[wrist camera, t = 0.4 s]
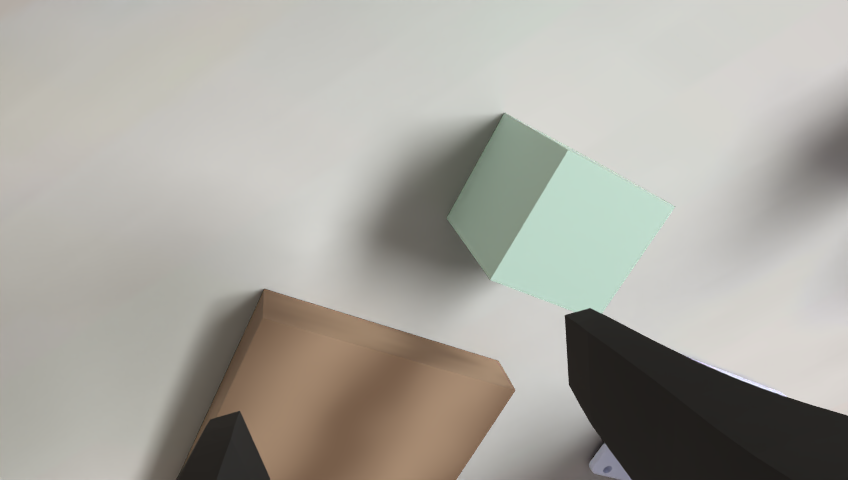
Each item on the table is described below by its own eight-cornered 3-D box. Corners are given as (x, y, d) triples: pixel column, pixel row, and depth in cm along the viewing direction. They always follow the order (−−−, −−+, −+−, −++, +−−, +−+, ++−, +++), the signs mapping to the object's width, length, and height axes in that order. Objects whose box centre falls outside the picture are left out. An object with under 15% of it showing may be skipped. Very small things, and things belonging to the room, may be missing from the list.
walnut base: (498, 361, 24) (515, 390, 23) (392, 527, 28) (399, 564, 26) (264, 288, 20) (262, 317, 18) (169, 495, 23) (160, 537, 22)
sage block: (594, 160, 21) (675, 206, 17) (535, 255, 23) (597, 320, 18) (503, 112, 20) (568, 149, 15) (446, 217, 21) (490, 279, 16)
